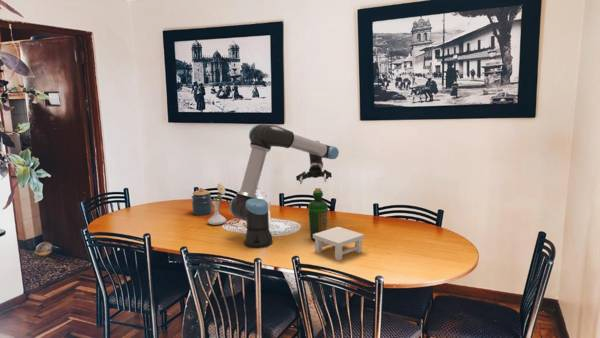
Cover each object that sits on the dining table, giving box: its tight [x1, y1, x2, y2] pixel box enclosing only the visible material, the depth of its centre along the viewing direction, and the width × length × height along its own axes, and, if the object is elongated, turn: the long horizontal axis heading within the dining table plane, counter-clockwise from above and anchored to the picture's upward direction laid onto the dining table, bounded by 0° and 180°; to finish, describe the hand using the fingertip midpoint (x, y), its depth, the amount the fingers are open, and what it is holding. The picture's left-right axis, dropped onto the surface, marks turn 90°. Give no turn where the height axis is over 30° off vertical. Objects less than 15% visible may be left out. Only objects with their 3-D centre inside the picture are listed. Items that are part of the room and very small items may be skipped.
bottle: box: [307, 187, 329, 242], centre depth 229 cm, size 11×11×28 cm
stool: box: [313, 226, 365, 261], centre depth 211 cm, size 18×18×9 cm
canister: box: [191, 187, 213, 217], centre depth 286 cm, size 13×13×18 cm
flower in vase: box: [207, 183, 227, 226], centre depth 262 cm, size 13×11×25 cm
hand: (312, 180), depth 234 cm, fingers open, 13 cm apart
